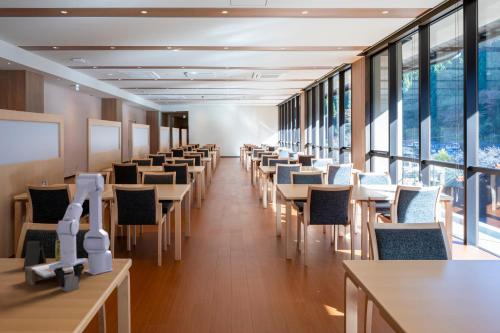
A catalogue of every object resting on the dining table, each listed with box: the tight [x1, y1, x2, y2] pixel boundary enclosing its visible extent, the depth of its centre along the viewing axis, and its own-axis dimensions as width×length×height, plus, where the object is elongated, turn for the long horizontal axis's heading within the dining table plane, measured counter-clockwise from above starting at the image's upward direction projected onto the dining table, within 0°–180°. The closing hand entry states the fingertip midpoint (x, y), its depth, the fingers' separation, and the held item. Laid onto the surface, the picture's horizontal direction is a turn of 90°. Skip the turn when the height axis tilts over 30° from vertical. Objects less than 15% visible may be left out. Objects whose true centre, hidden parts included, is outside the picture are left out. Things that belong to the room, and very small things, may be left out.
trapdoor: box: [31, 262, 74, 277], centre depth 188 cm, size 14×14×1 cm
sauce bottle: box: [54, 220, 61, 261], centre depth 217 cm, size 6×6×20 cm
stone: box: [59, 273, 80, 293], centre depth 179 cm, size 5×5×5 cm
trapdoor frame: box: [24, 260, 74, 286], centre depth 192 cm, size 17×8×6 cm, turn 136°
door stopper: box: [23, 240, 47, 271], centre depth 210 cm, size 9×6×12 cm, turn 173°
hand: (69, 285), depth 179 cm, fingers open, 5 cm apart
